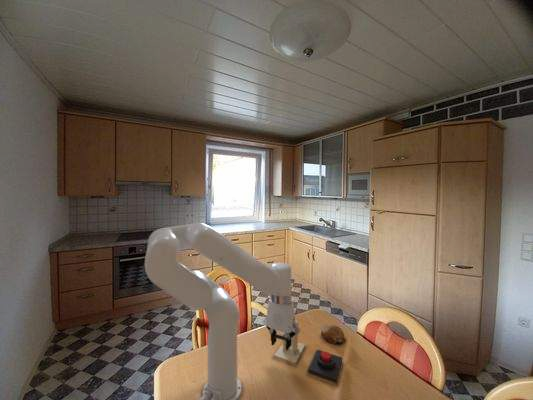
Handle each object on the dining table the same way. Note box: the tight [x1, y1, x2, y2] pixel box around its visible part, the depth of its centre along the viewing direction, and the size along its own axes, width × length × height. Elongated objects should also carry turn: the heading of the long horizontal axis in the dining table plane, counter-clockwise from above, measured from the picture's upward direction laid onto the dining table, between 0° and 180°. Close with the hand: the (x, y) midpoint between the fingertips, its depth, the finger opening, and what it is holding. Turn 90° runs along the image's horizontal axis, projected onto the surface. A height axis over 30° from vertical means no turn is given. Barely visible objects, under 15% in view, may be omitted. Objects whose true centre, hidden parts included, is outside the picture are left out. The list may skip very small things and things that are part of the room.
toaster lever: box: [274, 332, 287, 341], centre depth 90 cm, size 12×5×2 cm, turn 153°
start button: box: [321, 351, 331, 363], centre depth 86 cm, size 4×4×2 cm
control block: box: [307, 349, 343, 386], centre depth 86 cm, size 12×10×4 cm
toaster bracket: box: [273, 320, 306, 364], centre depth 94 cm, size 12×9×13 cm
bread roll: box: [320, 323, 345, 346], centre depth 103 cm, size 10×10×8 cm
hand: (281, 344), depth 86 cm, fingers closed on toaster lever, 5 cm apart
